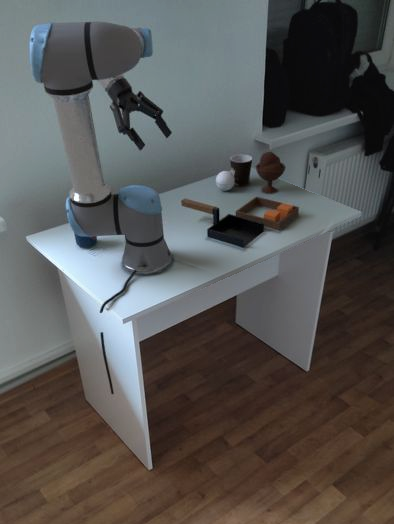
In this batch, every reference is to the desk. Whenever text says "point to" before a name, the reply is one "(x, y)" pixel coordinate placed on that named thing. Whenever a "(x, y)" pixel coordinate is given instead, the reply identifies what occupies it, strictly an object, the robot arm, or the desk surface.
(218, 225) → the pan
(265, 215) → the block
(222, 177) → the white oval piece
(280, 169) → the ice cream bowl
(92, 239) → the soda can
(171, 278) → the desk surface
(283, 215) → the block
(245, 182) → the coffee mug
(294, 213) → the tray
